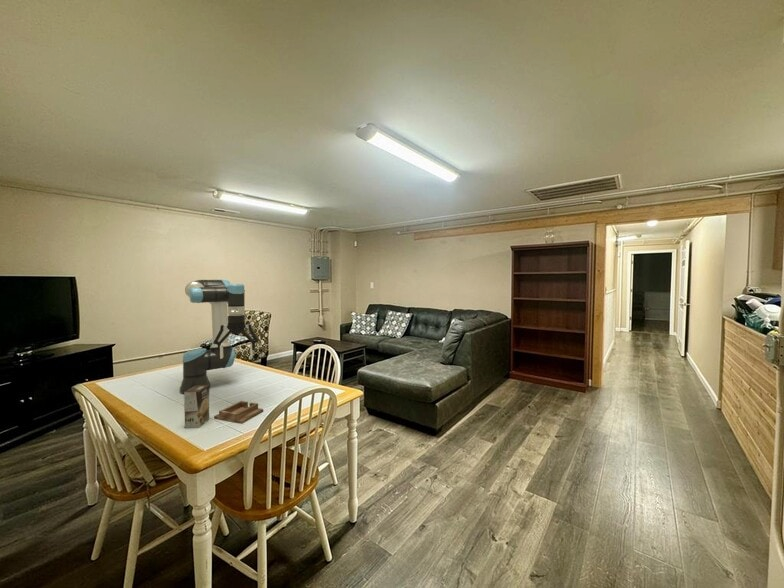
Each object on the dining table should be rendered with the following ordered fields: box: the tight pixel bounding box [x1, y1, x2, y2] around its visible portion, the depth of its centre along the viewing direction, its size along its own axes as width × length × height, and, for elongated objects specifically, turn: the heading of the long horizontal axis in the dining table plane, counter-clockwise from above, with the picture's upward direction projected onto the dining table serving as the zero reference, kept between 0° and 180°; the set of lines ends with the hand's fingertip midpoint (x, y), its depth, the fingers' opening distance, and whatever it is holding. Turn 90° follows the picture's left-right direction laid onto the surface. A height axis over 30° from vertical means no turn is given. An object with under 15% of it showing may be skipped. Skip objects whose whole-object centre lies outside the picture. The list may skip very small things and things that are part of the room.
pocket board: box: [213, 400, 264, 425], centre depth 150 cm, size 16×14×4 cm
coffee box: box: [183, 385, 210, 429], centre depth 140 cm, size 9×6×16 cm
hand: (236, 357), depth 156 cm, fingers open, 13 cm apart
